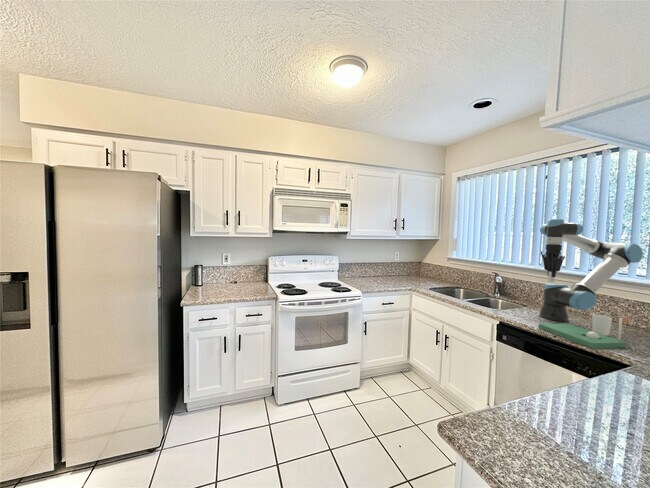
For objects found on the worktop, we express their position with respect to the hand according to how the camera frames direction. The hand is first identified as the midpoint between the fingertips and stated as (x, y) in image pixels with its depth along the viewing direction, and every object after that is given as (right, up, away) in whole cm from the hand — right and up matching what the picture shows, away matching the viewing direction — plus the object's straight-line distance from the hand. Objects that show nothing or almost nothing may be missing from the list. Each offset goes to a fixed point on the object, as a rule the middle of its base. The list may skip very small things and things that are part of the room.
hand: (550, 282), depth 166 cm
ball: (+1, -25, -25) cm, 35 cm away
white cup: (+18, -28, -12) cm, 35 cm away
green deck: (0, -27, -19) cm, 33 cm away
